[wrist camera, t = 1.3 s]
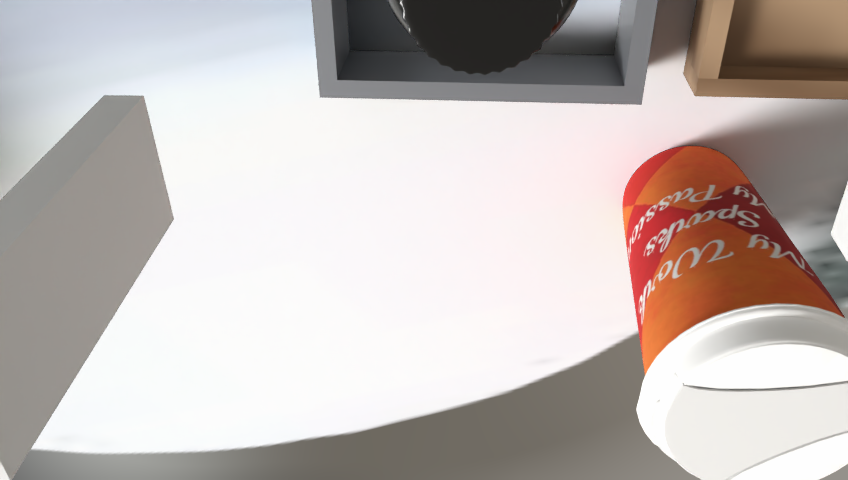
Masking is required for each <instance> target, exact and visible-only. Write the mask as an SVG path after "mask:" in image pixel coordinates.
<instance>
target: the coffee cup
mask: <svg viewBox="0 0 848 480" xmlns="http://www.w3.org/2000/svg"><path fill="white" fill-rule="evenodd" d="M623 220H624V229H625V237H626V245H627V252H628V260H629V267H630V274H631V281H632V288H633V295H634V302H635V309H636V316H637V323H638V330H639V337H640V344H641V350H642V357H643V364H644V371H645V378H644V381H643V383H642V389H641V393H640V398H639V401H638V405H637V413H638V417H639V421H640V424H641V426H642V427H643V429H644V431H645V433H646V435H647V436H648V437H649V438H650V439H651V441H652V442H653V443H654V444H656V445H657V446H659V448H660V449H661V450H662V451H663V452H664V453H665V454H667V455H668V456H669V457H671V458H672V459H673V460H675V461H676V462H678V464H679V465H680V466H681V467H683V468H684V469H685V470H686V471H688V472H689V473H691V474H693V475H695V476H696V477H698V478H700V479H702V480H819V479H821V478H823V477H825V476H827V475H829V474H831V473H833V472H835V471H837V470H838V469H840V468H842V467H843V466H845V465H846V464H848V319H846V318H845V317H844V315H843V314H842V312H841V311H840V309H839V308H838V306H837V305H836V303H835V301H834V300H833V298H832V297H831V295H830V294H829V292H828V291H827V289H826V288H825V287H824V285H823V284H822V283H821V281H820V280H819V278H818V277H817V276H816V274H815V273H814V272H813V270H812V269H811V267H810V266H809V265H808V263H807V262H806V261H805V259H804V258H803V256H802V255H801V254H800V252H799V251H798V250H797V248H796V247H795V245H794V244H793V243H792V241H791V240H790V238H789V237H788V235H787V234H786V233H785V231H784V230H783V228H782V227H781V225H780V224H779V223H778V221H777V220H776V218H775V217H774V215H773V214H772V212H771V211H770V210H769V208H768V207H767V205H766V204H765V202H764V201H763V200H762V198H761V197H760V195H759V194H758V192H757V191H756V190H755V188H754V187H753V185H752V184H751V183H750V181H749V180H748V179H747V177H746V176H745V175H744V173H743V172H742V171H741V170H740V168H739V167H738V166H737V165H736V164H735V163H734V162H733V161H732V160H731V159H730V158H728V157H727V156H726V155H724V154H722V153H721V152H719V151H716V150H714V149H711V148H707V147H702V146H682V147H676V148H672V149H669V150H666V151H663V152H661V153H659V154H657V155H655V156H653V157H651V158H650V159H648V160H647V161H646V162H644V163H643V164H642V165H641V166H640V167H639V168H638V169H637V170H636V171H635V172H634V174H633V175H632V177H631V178H630V180H629V182H628V184H627V186H626V188H625V192H624V196H623Z"/></svg>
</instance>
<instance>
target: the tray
mask: <svg viewBox="0 0 848 480" xmlns="http://www.w3.org/2000/svg"><path fill="white" fill-rule="evenodd" d="M683 74H684V76H685V78H686V80H687V82H688V84H689V86H690V88H691V89H692V91H693V93H694V95H695V96H712V97H758V98H804V99H848V0H697V3H696V8H695V13H694V19H693V24H692V30H691V35H690V40H689V46H688V51H687V57H686V62H685V67H684V73H683Z"/></svg>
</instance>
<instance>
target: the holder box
mask: <svg viewBox="0 0 848 480" xmlns="http://www.w3.org/2000/svg"><path fill="white" fill-rule="evenodd" d="M311 1H312V12H313V23H314V35H315V46H316V57H317V69H318V80H319V91H320V97H328V98H372V99H417V100H461V101H505V102H550V103H594V104H638V105H641V104H642V98H643V92H644V85H645V79H646V73H647V66H648V60H649V54H650V47H651V41H652V35H653V28H654V22H655V15H656V9H657V3H658V0H621V6H620V14H619V21H618V29H617V36H616V44H615V52H614V55H564V54H532V55H531V57H530V58H529V59H528V60H525V61H521V62H520V63H519V64H518V65H517V66H516V67H514V68H506V69H505V70H504V71H502V72H500V73H499V72H491V73H489V74H486V75H483V74H480V73H475V74H468V73H466V72H464V71H454V70H453V69H451V68H450V67H449V66H443V65H440V64H439V63H438V61H437V60H436V59H433V58H431V57H428V55H427V54H426V52H402V51H350V46H349V31H348V15H347V0H311Z"/></svg>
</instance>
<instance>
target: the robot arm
mask: <svg viewBox="0 0 848 480" xmlns="http://www.w3.org/2000/svg"><path fill="white" fill-rule="evenodd" d="M173 220H174V218H173V214H172V210H171V205H170V201H169V197H168V193H167V189H166V185H165V181H164V177H163V173H162V169H161V165H160V161H159V157H158V153H157V148H156V144H155V140H154V136H153V132H152V128H151V124H150V120H149V116H148V112H147V108H146V104H145V100H144V96H109V95H104V96H103V97H102V98H101V99H100V100H99V101H98V102H97V103H96V104H95V105H94V106H93V107H92V108H91V109H90V110H89V111H88V112H87V113H86V114H85V115H84V116H83V117H82V118H81V119H80V120H79V121H78V122H77V123H76V124H75V125H74V126H73V127H72V128H71V129H70V130H69V132H68V133H67V134H66V135H65V136H64V137H63V138H62V139H61V140H60V141H59V142H58V143H57V144H56V145H55V146H54V147H53V148H52V149H51V150H50V151H49V152H48V153H47V154H46V155H45V156H44V157H43V158H42V159H41V160H40V161H39V162H38V163H37V164H36V165H35V166H34V167H33V168H32V169H31V170H30V171H29V172H28V173H27V174H26V175H25V176H24V177H23V178H22V179H21V180H20V181H19V182H18V183H17V184H16V185H15V186H14V187H13V188H12V189H11V190H10V191H9V192H8V193H7V194H6V195H5V196H4V197H3V198H2V199H1V200H0V480H12V478H13V477H14V475H15V473H16V472H17V470H18V469H19V467H20V465H21V464H22V462H23V461H24V459H25V457H26V456H27V454H28V453H29V451H30V449H31V448H32V446H33V445H34V443H35V441H36V440H37V438H38V437H39V435H40V433H41V432H42V430H43V429H44V427H45V425H46V424H47V422H48V420H49V419H50V417H51V416H52V414H53V412H54V411H55V409H56V408H57V406H58V404H59V403H60V401H61V400H62V398H63V396H64V395H65V393H66V392H67V390H68V388H69V387H70V385H71V384H72V382H73V380H74V379H75V377H76V376H77V374H78V372H79V371H80V369H81V367H82V366H83V364H84V363H85V361H86V359H87V358H88V356H89V355H90V353H91V351H92V350H93V348H94V347H95V345H96V343H97V342H98V340H99V339H100V337H101V335H102V334H103V332H104V331H105V329H106V327H107V326H108V324H109V323H110V321H111V319H112V318H113V316H114V314H115V313H116V311H117V310H118V308H119V306H120V305H121V303H122V302H123V300H124V298H125V297H126V295H127V294H128V292H129V290H130V289H131V287H132V286H133V284H134V282H135V281H136V279H137V278H138V276H139V274H140V273H141V271H142V269H143V268H144V266H145V265H146V263H147V261H148V260H149V258H150V257H151V255H152V253H153V252H154V250H155V249H156V247H157V245H158V244H159V242H160V241H161V239H162V237H163V236H164V234H165V233H166V231H167V229H168V228H169V226H170V225H171V223H172V221H173ZM831 235H832V237H833V239H834V240H835V242H836V244H837V245H838V247H839V248H840V250H841V252H842V253H843V255H844V257H845V258H846V260H847V261H848V182H847V185H846V189H845V192H844V195H843V198H842V201H841V204H840V207H839V210H838V213H837V216H836V219H835V222H834V226H833V229H832V232H831Z"/></svg>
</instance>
